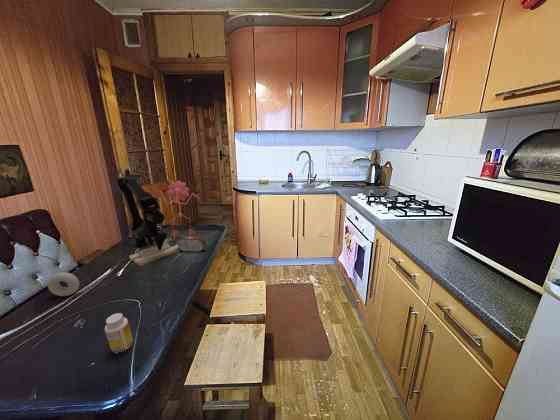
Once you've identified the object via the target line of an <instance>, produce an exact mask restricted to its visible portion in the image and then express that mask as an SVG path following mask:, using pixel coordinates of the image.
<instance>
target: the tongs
mask: <svg viewBox="0 0 560 420" xmlns="http://www.w3.org/2000/svg"><path fill="white" fill-rule="evenodd" d="M175 244H177V240H176V239H175V240H174V238H172V237H169V238H168V237H167V238H166V239H165V240H164V243H163V245H162V248H161V250H158V247H157V245H156V242H153V244H151V245H150V244H148V245H145V246H142V247H139V248H137V253H138V254H139V257H141V258H143V257H146V256H149V255H151V254H154V253H156V252H159V251H162V250H164V249H167V248H170V247H172V246H174V245H175Z"/></svg>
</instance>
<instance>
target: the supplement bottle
mask: <svg viewBox="0 0 560 420" xmlns="http://www.w3.org/2000/svg"><path fill="white" fill-rule="evenodd" d="M105 323H106V325H105V326H104V333H105V336H106V339H107V342H108V344H109V349H110V351H111V352H112V353H113V352H114V354H119V353H118V352H121V353H123V352H125V351H127V350H128V349H129V348H130V347H132V345H133V342H134V339H133V338H134V337H133V335H132V334H133V333H132V330H131V326H130V324H129V321H128V318H126V317H124V316H123V313H121V312H116V313H113V314H112V315H110V316H108V317H107V318H106V320H105ZM126 349H127V350H126ZM124 350H125V351H124ZM122 351H123V352H122Z"/></svg>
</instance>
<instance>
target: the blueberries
mask: <svg viewBox="0 0 560 420" xmlns="http://www.w3.org/2000/svg"><path fill="white" fill-rule="evenodd" d="M86 322H87V320H85V319H84V318H80V319H79V320H77V321H76V322H75V323H74V324H73V326H74V328H73V329H76V328H78V327H79V330H81V329H80V328H83V327H84V325H85V323H86ZM87 323H88V322H87ZM87 323H86V324H87ZM85 326H86V325H85ZM84 328H85V327H84ZM84 328H83V329H84Z"/></svg>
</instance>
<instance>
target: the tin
mask: <svg viewBox="0 0 560 420" xmlns="http://www.w3.org/2000/svg"><path fill="white" fill-rule="evenodd" d="M176 244H178V247H179V249H181V250H180V251H182V252H188V253H189V252H192V253H193V252H194V253H196V252H197V253H200V252H202V251H204V249H205V248H206V246H207V242H206V240H205V239H204V237H201V236H198V235H196V236H195V235H191V236H190V235H183V236H181V237H180V238H179V239H178V240H177V241H176Z"/></svg>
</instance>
